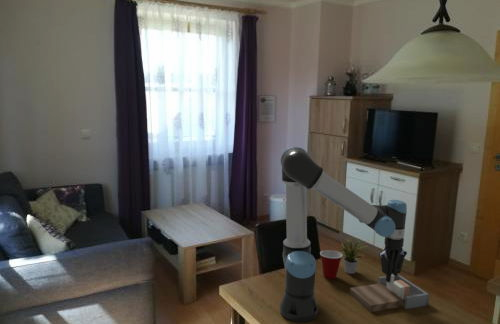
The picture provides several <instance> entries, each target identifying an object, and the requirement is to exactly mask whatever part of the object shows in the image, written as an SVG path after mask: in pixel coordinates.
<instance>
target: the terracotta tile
mask: <svg viewBox="0 0 500 324" xmlns="http://www.w3.org/2000/svg"><path fill="white" fill-rule="evenodd" d="M396 281H397V282H398V283H400V284H401V285H403V286H404V287H405V292H404V301H405V297H406V296H410V294H409V292H410V286H409V285H408V284H406V283H405V282H403V281H402V280H396Z"/></svg>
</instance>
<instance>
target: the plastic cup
mask: <svg viewBox="0 0 500 324" xmlns="http://www.w3.org/2000/svg"><path fill="white" fill-rule="evenodd" d="M319 255H320V257H321V264H322V273H323V278H325V279H327V280H335V279H336V278H337V274H338V271H339V267H340V262H341V260H342V257H343V255H344V254H343V253H341V252H339V251H336V250H322V251H320V252H319Z"/></svg>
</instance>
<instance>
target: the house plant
mask: <svg viewBox="0 0 500 324" xmlns="http://www.w3.org/2000/svg"><path fill="white" fill-rule="evenodd" d="M361 241H362V240H359V241H357V242H356V243H355V245H354V247H353V244H352V241H350V239H348V238H347V242H348V243H349V249H348V247H347V244H345V243H344V242H343V241H341V248H342V249H341V251H340V253H341V254H342V255H343V256H342V257H343V266H344V267H343V268H344V273H346V274H351V275H353V274H355V273H356V272H357V267H358V263H359V260H358V259H357V258H360V259H363V257H364V254H362V253H358V252H359V251H360V250H362V249H363V248H366V247H369V245H363V244H360V242H361ZM357 246H358V247H357ZM362 256H363V257H362Z"/></svg>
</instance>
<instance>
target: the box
mask: <svg viewBox="0 0 500 324" xmlns="http://www.w3.org/2000/svg"><path fill="white" fill-rule="evenodd" d="M397 274H398V275H397V276H396V278H395V281H396V280H402V281H403V282H405V283H406V284H408V285H409V286H410V292H409V296H406V297H405V300H404V306H403V307H404V308H405V309H406V310H409V309H414V308H415V309H416V308H421V307H426V306H428V305H429V298H430V294H429V293H428V292H426V291H425V290H423V289H422V288H421V287H418V286H417V285H416V284H414V283H413V282H411V281H410V280H408V279H406V278H405V277H403V276H402V275H400V273H397ZM377 278H378V279H377V284H379V283H381V284H383V285H384V286H385V287H386V286H387V281H386V275H384V276H378V277H377Z"/></svg>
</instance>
